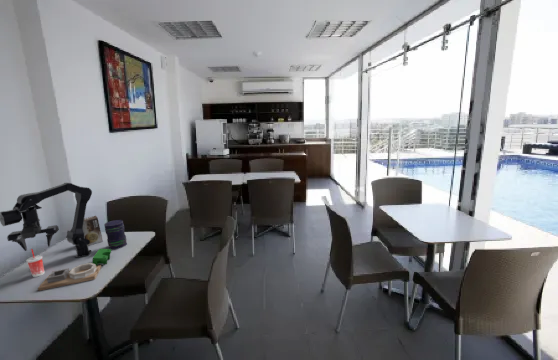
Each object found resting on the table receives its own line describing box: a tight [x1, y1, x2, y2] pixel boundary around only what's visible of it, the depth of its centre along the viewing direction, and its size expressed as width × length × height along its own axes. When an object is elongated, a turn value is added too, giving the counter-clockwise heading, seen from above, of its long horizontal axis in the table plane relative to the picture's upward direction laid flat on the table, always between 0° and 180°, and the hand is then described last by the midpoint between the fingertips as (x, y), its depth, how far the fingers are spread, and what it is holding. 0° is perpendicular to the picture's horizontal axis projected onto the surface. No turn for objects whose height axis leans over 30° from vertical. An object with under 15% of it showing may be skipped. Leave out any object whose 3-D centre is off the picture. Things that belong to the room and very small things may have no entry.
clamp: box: [91, 248, 112, 265], centre depth 146 cm, size 12×6×9 cm, turn 12°
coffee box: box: [83, 215, 104, 247], centre depth 172 cm, size 9×6×16 cm
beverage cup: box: [25, 248, 45, 278], centre depth 136 cm, size 6×6×14 cm
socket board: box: [37, 262, 102, 291], centre depth 132 cm, size 12×22×4 cm, turn 110°
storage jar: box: [104, 219, 128, 250], centre depth 165 cm, size 10×10×15 cm
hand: (37, 248), depth 139 cm, fingers open, 9 cm apart
